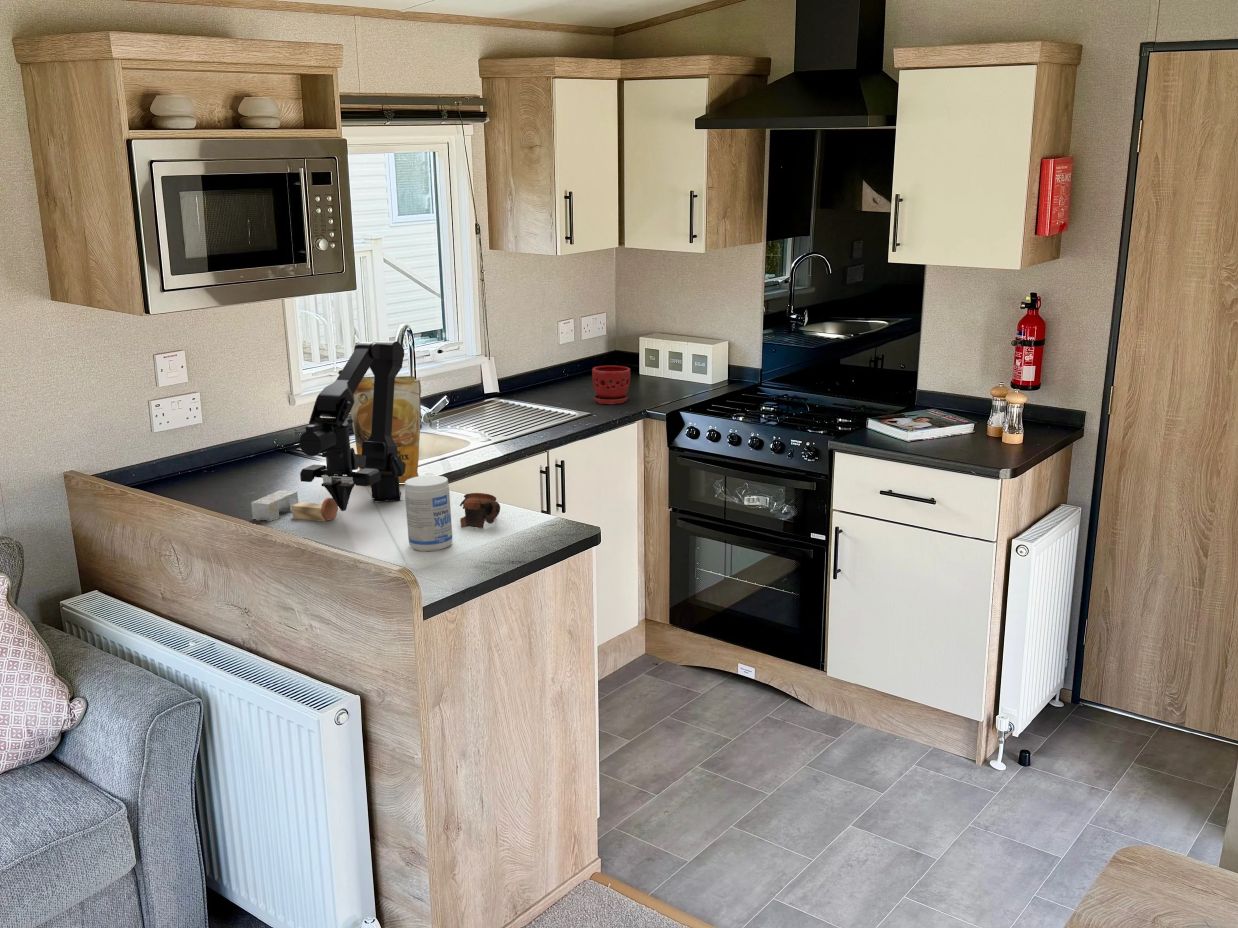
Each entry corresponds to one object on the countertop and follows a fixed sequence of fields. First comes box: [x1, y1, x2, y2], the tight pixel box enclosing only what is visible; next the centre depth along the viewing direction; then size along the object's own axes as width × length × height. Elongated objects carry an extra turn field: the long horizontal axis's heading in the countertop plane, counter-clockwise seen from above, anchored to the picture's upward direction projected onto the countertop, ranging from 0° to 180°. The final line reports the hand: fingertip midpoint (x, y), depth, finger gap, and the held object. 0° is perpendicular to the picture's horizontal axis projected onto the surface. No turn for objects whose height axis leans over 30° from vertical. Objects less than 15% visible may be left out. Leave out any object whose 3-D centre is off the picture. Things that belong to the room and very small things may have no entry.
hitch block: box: [250, 489, 299, 522], centre depth 275 cm, size 5×11×4 cm, turn 159°
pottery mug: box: [459, 492, 501, 529], centre depth 263 cm, size 12×10×8 cm
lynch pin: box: [292, 497, 339, 522], centre depth 271 cm, size 10×5×5 cm, turn 68°
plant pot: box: [591, 365, 631, 405], centre depth 392 cm, size 13×13×12 cm
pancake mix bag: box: [350, 375, 422, 483], centre depth 298 cm, size 7×19×28 cm, turn 86°
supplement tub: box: [404, 474, 453, 552], centre depth 247 cm, size 10×10×15 cm
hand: (343, 510), depth 268 cm, fingers closed
